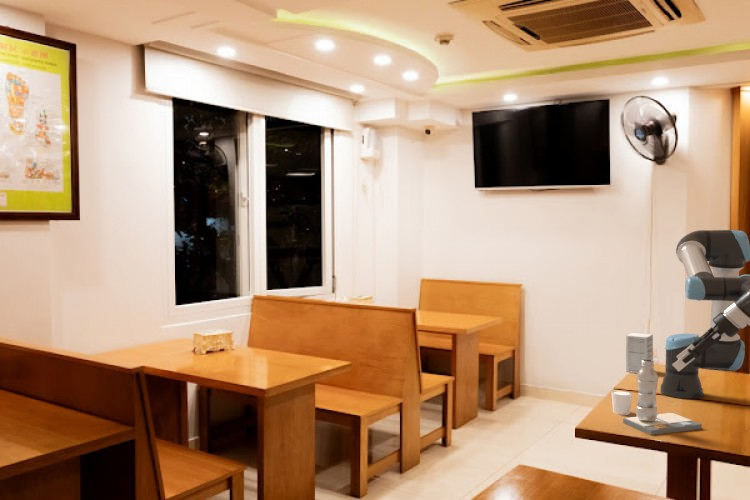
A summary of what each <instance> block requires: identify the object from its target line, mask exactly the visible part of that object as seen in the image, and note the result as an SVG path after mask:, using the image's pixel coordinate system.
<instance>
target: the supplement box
mask: <svg viewBox="0 0 750 500" xmlns="http://www.w3.org/2000/svg"><path fill="white" fill-rule="evenodd" d="M625 337H626V338H625V372H626V373H631V374H637V373H638V372H639V370H640V369H641V368H642V366H641V360H643V359H648V360H653V361H654V355H653V354H654V335H653V334H652V333H641V332H640V333H639V332H637V333H636V332H631V333H629V334H626V336H625ZM631 371H632V372H631Z"/></svg>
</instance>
